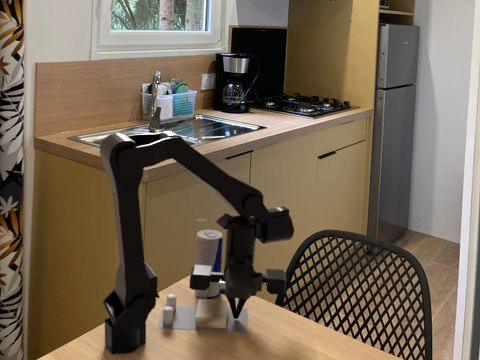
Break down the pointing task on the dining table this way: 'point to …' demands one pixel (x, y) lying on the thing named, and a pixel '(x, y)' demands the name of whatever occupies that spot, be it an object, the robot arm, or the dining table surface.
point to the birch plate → (211, 313)
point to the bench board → (186, 318)
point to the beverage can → (209, 258)
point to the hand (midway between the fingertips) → (235, 317)
